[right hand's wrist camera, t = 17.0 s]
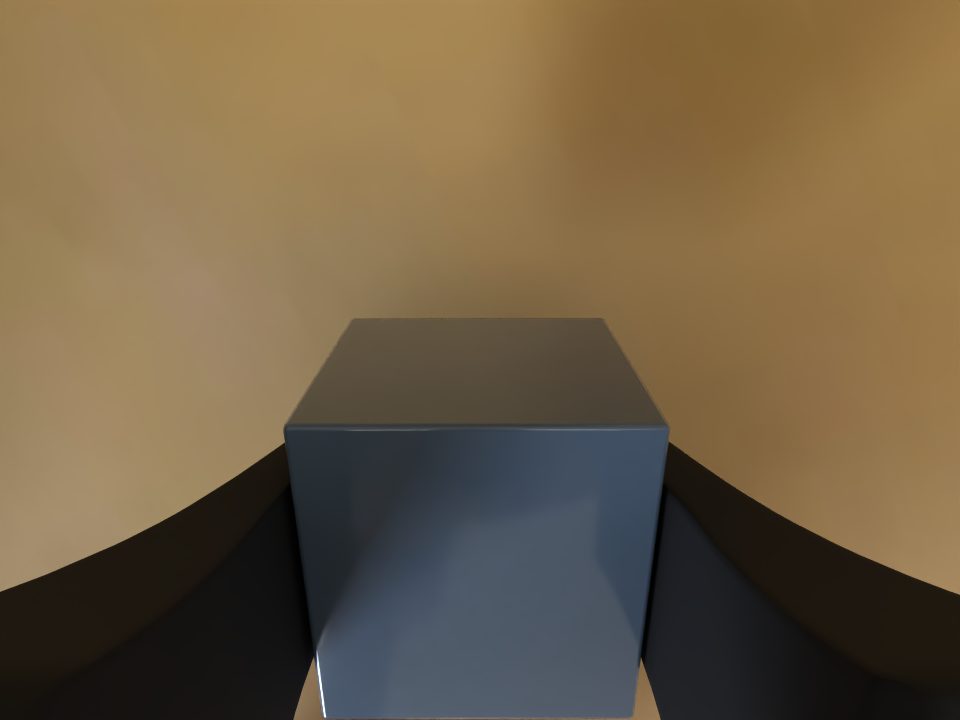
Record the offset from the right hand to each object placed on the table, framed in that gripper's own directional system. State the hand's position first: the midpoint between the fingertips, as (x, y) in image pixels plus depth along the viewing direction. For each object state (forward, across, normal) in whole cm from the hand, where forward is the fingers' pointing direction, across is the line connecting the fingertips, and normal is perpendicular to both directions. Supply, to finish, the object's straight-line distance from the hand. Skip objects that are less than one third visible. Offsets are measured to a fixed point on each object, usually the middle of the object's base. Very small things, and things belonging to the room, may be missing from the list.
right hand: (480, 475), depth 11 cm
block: (+1, 0, 0) cm, 1 cm away
